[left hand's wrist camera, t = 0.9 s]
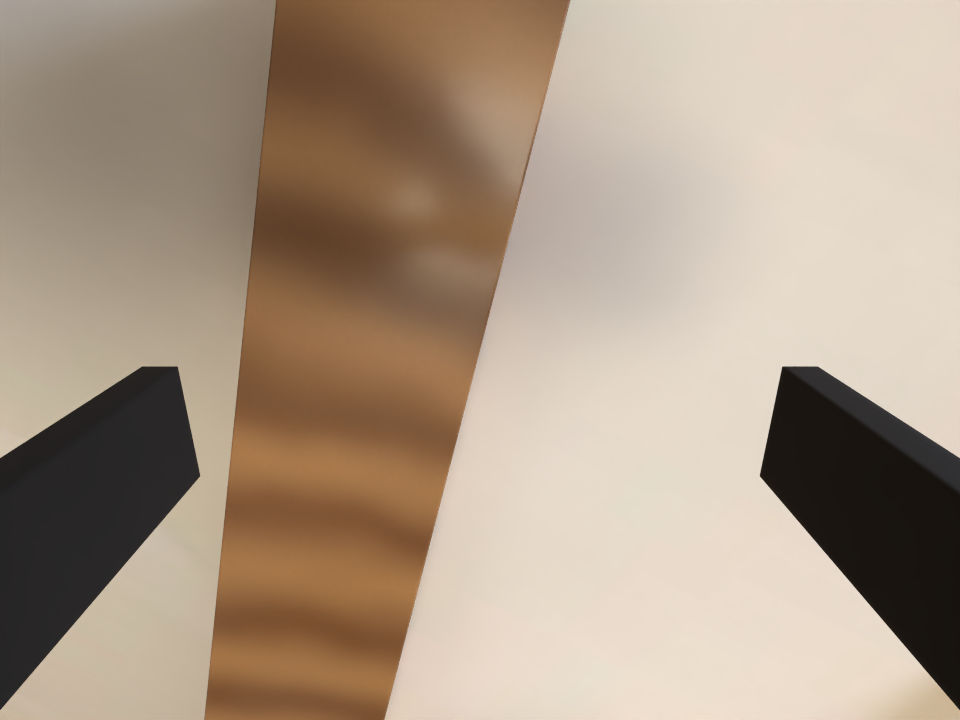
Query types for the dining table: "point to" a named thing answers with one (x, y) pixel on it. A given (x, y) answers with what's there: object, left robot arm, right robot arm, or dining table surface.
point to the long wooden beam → (364, 331)
